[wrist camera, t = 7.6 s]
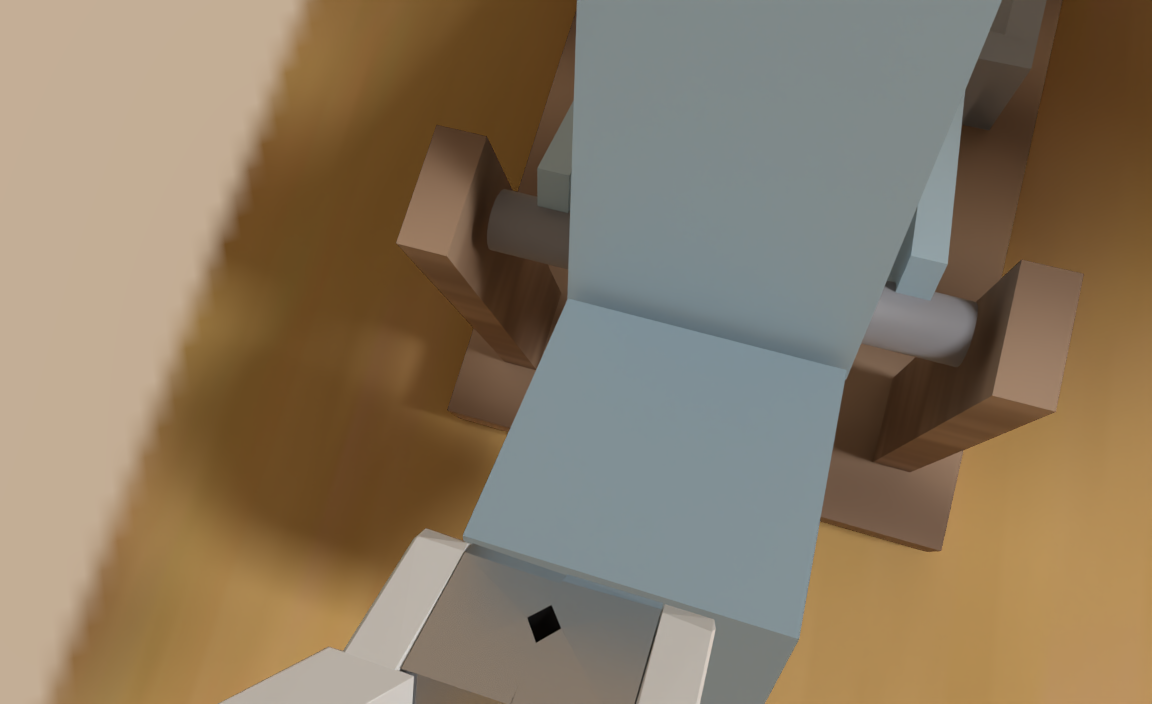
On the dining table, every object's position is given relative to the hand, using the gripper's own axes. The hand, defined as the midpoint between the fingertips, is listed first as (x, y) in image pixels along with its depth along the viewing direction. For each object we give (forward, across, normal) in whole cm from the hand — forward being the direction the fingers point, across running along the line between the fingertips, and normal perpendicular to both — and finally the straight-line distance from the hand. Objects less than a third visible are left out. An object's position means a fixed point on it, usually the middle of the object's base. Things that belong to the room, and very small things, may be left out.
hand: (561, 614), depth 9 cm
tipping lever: (+14, 0, +6) cm, 15 cm away
